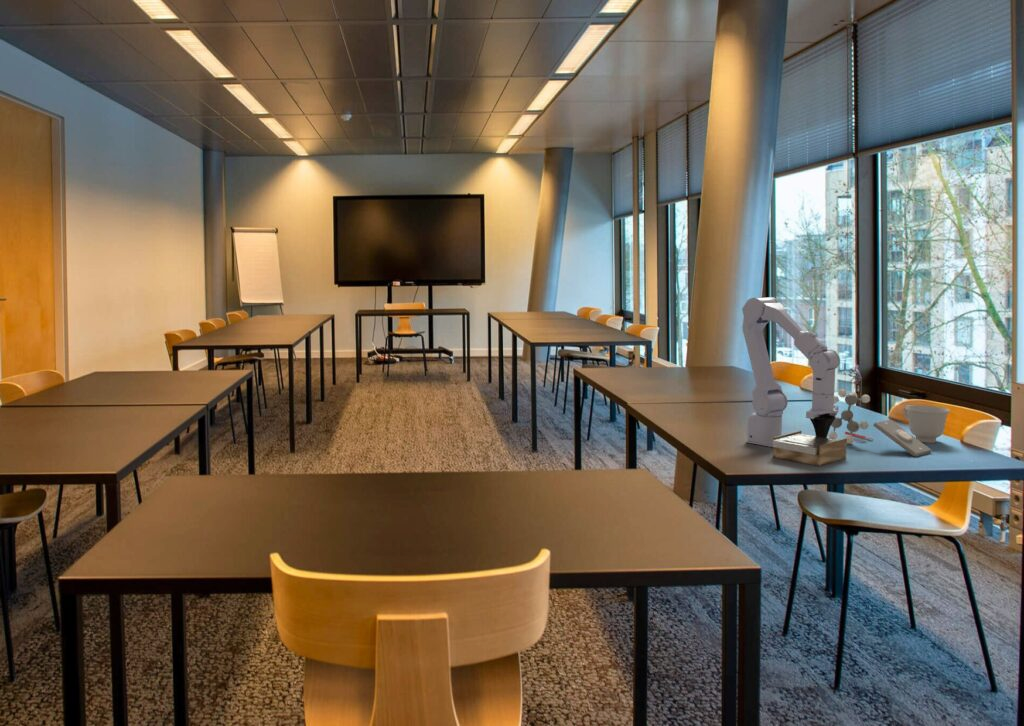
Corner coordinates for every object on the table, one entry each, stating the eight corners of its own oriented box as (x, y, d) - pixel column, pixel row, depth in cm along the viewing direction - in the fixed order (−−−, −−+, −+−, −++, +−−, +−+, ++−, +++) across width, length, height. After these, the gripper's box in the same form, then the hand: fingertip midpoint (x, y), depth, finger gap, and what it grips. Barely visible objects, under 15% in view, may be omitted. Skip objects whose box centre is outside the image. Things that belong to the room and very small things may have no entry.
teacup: (917, 433, 249) (919, 402, 247) (957, 443, 235) (959, 410, 233) (887, 436, 245) (889, 404, 244) (926, 446, 231) (928, 413, 230)
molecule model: (887, 453, 234) (900, 402, 233) (848, 444, 228) (862, 392, 228) (838, 440, 252) (850, 392, 252) (801, 431, 246) (813, 383, 246)
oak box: (772, 457, 219) (773, 437, 218) (799, 449, 228) (799, 430, 227) (820, 466, 208) (821, 445, 207) (845, 458, 217) (846, 438, 216)
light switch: (918, 451, 217) (876, 420, 227) (907, 467, 220) (866, 435, 230) (934, 447, 222) (891, 416, 231) (923, 463, 225) (881, 432, 234)
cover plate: (772, 446, 217) (772, 439, 216) (799, 439, 226) (799, 432, 225) (814, 454, 207) (814, 447, 207) (840, 446, 216) (840, 439, 216)
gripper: (823, 397, 212) (821, 446, 214) (849, 392, 221) (847, 439, 223) (799, 394, 217) (797, 442, 219) (825, 389, 227) (823, 435, 228)
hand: (821, 440), depth 221 cm, fingers closed
